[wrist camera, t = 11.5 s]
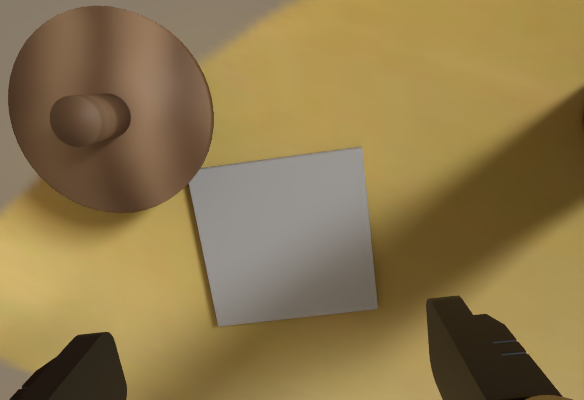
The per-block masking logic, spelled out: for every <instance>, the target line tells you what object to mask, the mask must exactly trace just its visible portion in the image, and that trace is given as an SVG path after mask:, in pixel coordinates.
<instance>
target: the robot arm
mask: <svg viewBox="0 0 584 400" xmlns="http://www.w3.org/2000/svg"><path fill="white" fill-rule="evenodd" d="M426 310H427V325H428V341H429V355H430V363H431V368H432V372H433V376H434V379H435V382H436V385H437V387H438V389H439V392H440V394H441V396H442V399H443V400H572V399H569V398H565V397H563V396H562V395H561V394H560V393H559V391H558V390H557V389H556V388H555V387H554V385H553V384H552V383H551V382H550V380H549V379H548V378H547V377H546V375H545V374H544V373H543V372H542V370H541V369H540V368H539V367H538V365H537V364H536V363H535V362H534V360H533V359H532V358H531V357H530V356H529V354H526V351H525V349H524V348H523V347H522V346H521V344H520V343H519V342H517V341H516V338H515V337H514V336H513V334H512V333H511V332H510V331H509V330H508V328H507V327H506V326H505V325H504V324H502V323H501V322H499V321H497V320H496V319H494V318H492V317H491V316H489V315H487V314H480V315H473V314H472V313H471V311H470V310H469V308H468V307H467V305H466V304H465V303H464V301H463V300H462V298H461V297H460V296H449V297H440V298H430V299H427V303H426ZM126 397H127V386H126V381H125V377H124V374H123V370H122V366H121V363H120V359H119V355H118V352H117V348H116V344H115V341H114V338H113V336H112V335H111V334H110V333H109V332H101V333H91V334H82V335H77V336H76V337H74V338H73V340H72V341H71V342H70V343H69V344H68V345H67V346H66V347H65V348H64V349H63V351H62V352H61V353H60V354H59V355H58V356H57V357H56V358H54V359H53V360H51V361H50V362H48V363H47V364H45V365H44V366H43V367H41V368H40V369H38V370H37V371H36V372H35V373H34V374H33V375H32V376H31V377H30V378H29V379H28V380H27V381H26V382H25V383H24V384H23V385H22V389H19V390H18V391H17V392H16V393H15V394H14V395H13V396H12V397H11V398H10V400H126Z"/></svg>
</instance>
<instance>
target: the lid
mask: <svg viewBox="0 0 584 400" xmlns="http://www.w3.org/2000/svg"><path fill="white" fill-rule="evenodd" d="M8 105H9V114H10V119H11V124H12V128H13V131H14V134H15V136H16V139H17V142H18V144H19V146H20V148H21V150H22V152H23V154H24V156H25V157H26V159H27V160H28V162H29V163H30V165H31V166H32V167H33V169H34V170H35V171H36V172H37V173H38V175H39V176H40V177H41V178H42V179H43V180H44V181H45V182H46V183H47V184H48V185H50V186H51V187H52V188H53V189H55V190H56V191H57V192H59V193H60V194H61V195H63V196H65V197H67V198H68V199H70V200H72V201H74V202H76V203H78V204H80V205H83V206H85V207H88V208H92V209H95V210H99V211H105V212H113V213H128V212H136V211H141V210H146V209H149V208H152V207H155V206H157V205H159V204H161V203H163V202H165V201H167V200H169V199H170V198H171V197H173V196H174V195H176V194H177V193H178V192H180V191H181V190H182V189H183V188H184V187H185V186H186V185H187V184H188V183H189V182H190V181H191V180H192V179H193V178H194V176H195V175H196V174H197V173H198V171H199V169H200V168H201V166H202V164H203V163H204V161H205V158H206V156H207V153H208V151H209V148H210V144H211V140H212V134H213V127H214V112H213V104H212V98H211V94H210V90H209V87H208V84H207V81H206V79H205V76H204V74H203V72H202V70H201V68H200V66H199V65H198V63H197V61H196V60H195V58H194V57H193V55H192V54H191V53H190V51H189V50H188V49H187V48H186V47H185V46H184V44H183V43H182V42H180V40H179V39H178V38H177V37H176V36H174V35H173V34H172V33H171V32H170V31H168V30H167V29H165V28H164V27H163V26H161V25H159V24H158V23H156V22H154V21H152V20H150V19H148V18H146V17H144V16H142V15H139V14H136V13H134V12H131V11H128V10H125V9H120V8H115V7H110V6H109V7H108V6H89V7H81V8H76V9H73V10H69V11H66V12H64V13H61V14H59V15H57V16H55V17H53V18H52V19H50V20H48V21H47V22H45V23H44V24H43V25H41V26H40V27H39V28H38V29H37V30H36V31H35V32H34V33H33V34H32V35H31V36H30V37H29V38H28V40H27V41H26V42H25V44H24V45H23V47H22V49H21V50H20V52H19V54H18V56H17V58H16V61H15V63H14V66H13V69H12V73H11V76H10V82H9V89H8Z"/></svg>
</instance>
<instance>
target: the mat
mask: <svg viewBox="0 0 584 400" xmlns="http://www.w3.org/2000/svg"><path fill="white" fill-rule="evenodd" d="M189 187H190V192H191V197H192V201H193V206H194V211H195V216H196V221H197V226H198V230H199V235H200V240H201V245H202V250H203V255H204V260H205V264H206V269H207V274H208V279H209V284H210V289H211V294H212V298H213V303H214V308H215V313H216V318H217V323H218V327H220V326H229V325H238V324H247V323H256V322H265V321H274V320H283V319H292V318H301V317H311V316H320V315H329V314H338V313H347V312H356V311H365V310H374V309H378V303H377V293H376V283H375V273H374V263H373V253H372V243H371V233H370V222H369V212H368V202H367V192H366V182H365V172H364V162H363V152H362V147H355V148H348V149H340V150H333V151H325V152H318V153H310V154H303V155H295V156H288V157H280V158H273V159H266V160H258V161H251V162H243V163H236V164H228V165H221V166H213V167H206V168H200V169H199V171H198V173H197V174H196V175H195V176H194V178H193V179H192V180H191V181H190V182H189Z"/></svg>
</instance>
